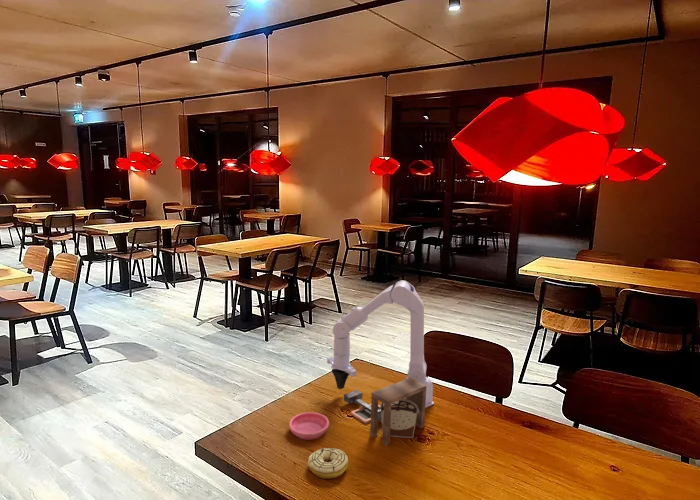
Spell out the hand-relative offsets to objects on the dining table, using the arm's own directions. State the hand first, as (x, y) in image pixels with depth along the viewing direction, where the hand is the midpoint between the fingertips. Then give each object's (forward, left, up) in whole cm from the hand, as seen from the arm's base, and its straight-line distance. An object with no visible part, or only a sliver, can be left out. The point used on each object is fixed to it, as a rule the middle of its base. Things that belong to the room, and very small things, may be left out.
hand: (340, 387), depth 160 cm
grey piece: (0, +14, -2) cm, 14 cm away
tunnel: (0, +29, -3) cm, 29 cm away
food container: (0, +29, -3) cm, 29 cm away
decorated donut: (+28, +30, -3) cm, 41 cm away
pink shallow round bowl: (+22, +12, -3) cm, 25 cm away
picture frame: (0, +16, -3) cm, 16 cm away
